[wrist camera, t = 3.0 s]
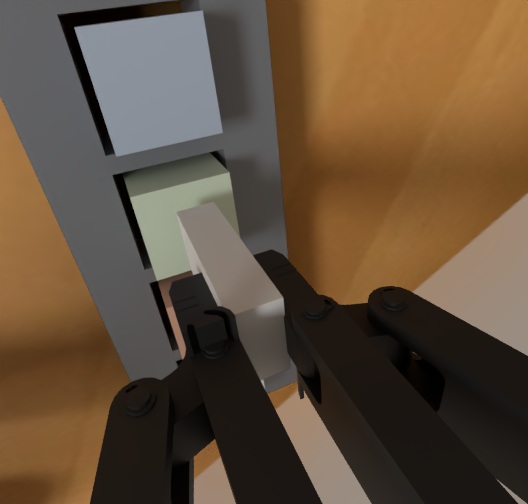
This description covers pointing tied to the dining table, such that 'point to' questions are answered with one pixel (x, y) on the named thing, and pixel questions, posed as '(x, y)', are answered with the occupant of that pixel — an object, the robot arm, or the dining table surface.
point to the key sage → (176, 205)
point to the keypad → (140, 159)
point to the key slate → (152, 79)
